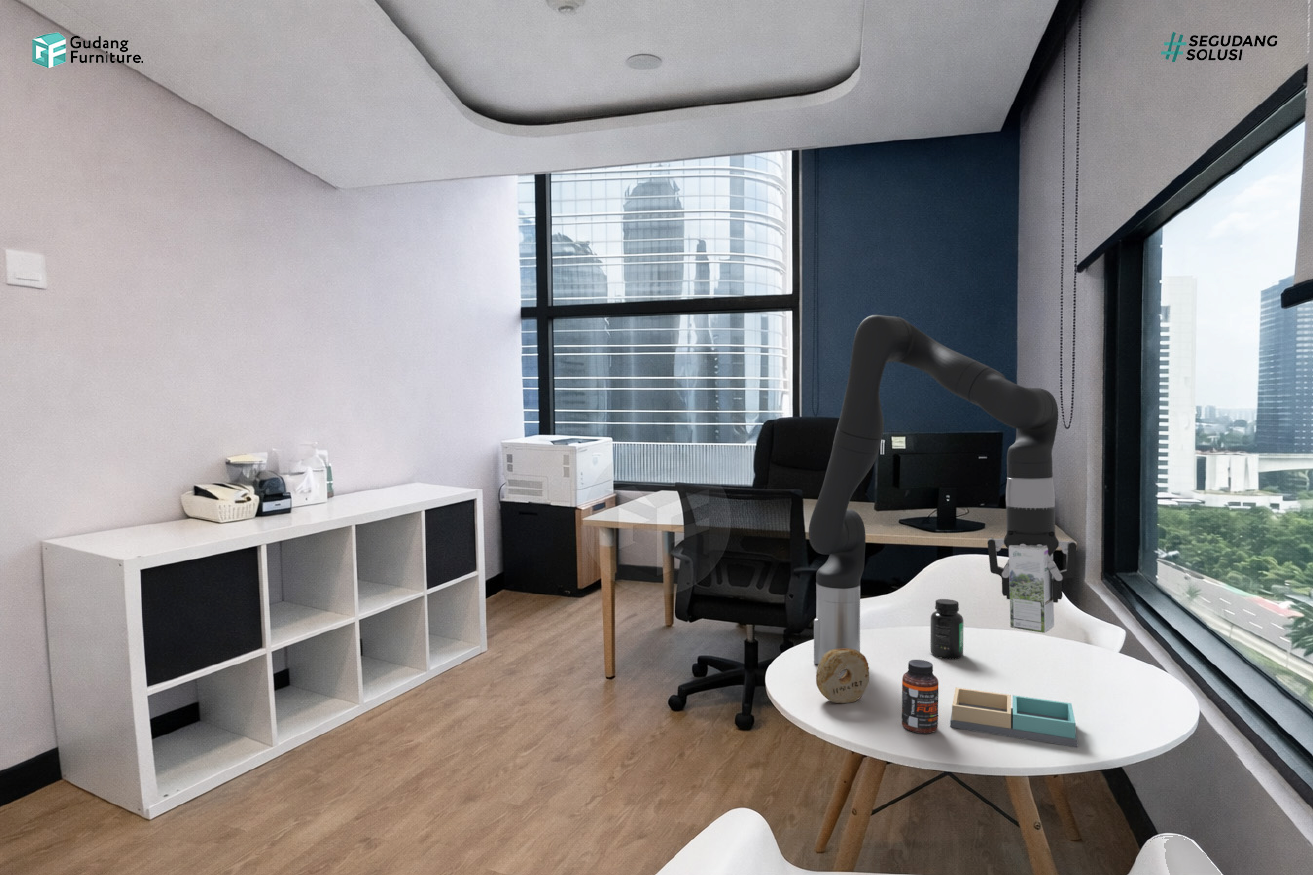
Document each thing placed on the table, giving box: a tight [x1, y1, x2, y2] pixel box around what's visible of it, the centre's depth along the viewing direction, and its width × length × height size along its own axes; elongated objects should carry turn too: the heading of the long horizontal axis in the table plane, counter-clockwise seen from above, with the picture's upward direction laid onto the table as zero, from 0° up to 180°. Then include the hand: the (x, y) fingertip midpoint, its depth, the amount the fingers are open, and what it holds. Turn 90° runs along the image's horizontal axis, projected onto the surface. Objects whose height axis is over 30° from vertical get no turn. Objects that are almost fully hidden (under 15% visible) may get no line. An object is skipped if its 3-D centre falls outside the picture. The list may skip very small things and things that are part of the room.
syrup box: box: [1008, 545, 1055, 634], centre depth 130 cm, size 6×6×14 cm
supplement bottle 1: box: [901, 659, 939, 735], centre depth 130 cm, size 6×6×11 cm
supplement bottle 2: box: [929, 598, 964, 660], centre depth 168 cm, size 7×7×12 cm
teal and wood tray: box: [949, 687, 1078, 748], centre depth 131 cm, size 19×10×4 cm, turn 65°
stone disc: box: [815, 648, 870, 704], centre depth 143 cm, size 10×4×10 cm, turn 106°
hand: (1031, 599), depth 130 cm, fingers closed on syrup box, 6 cm apart
